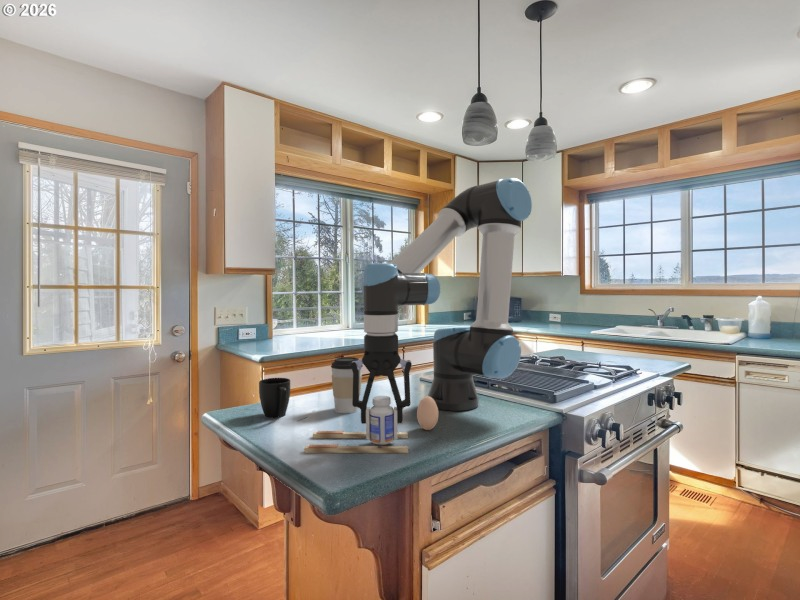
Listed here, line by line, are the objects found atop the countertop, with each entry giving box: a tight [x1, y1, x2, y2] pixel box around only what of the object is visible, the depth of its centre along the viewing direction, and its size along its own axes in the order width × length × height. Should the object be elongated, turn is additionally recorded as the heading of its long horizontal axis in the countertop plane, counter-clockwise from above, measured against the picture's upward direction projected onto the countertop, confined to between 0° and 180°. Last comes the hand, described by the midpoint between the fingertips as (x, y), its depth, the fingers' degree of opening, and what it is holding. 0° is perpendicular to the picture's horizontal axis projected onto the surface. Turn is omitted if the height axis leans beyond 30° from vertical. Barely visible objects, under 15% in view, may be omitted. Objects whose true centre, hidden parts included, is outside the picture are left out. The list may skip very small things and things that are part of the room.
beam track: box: [303, 430, 409, 454], centre depth 95 cm, size 22×10×1 cm, turn 90°
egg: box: [416, 395, 439, 431], centre depth 105 cm, size 5×5×8 cm
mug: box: [258, 377, 291, 419], centre depth 115 cm, size 8×12×10 cm
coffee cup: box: [330, 356, 364, 414], centre depth 122 cm, size 9×9×15 cm
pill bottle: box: [370, 395, 395, 446], centre depth 95 cm, size 5×5×10 cm
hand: (382, 437), depth 95 cm, fingers closed on pill bottle, 5 cm apart
